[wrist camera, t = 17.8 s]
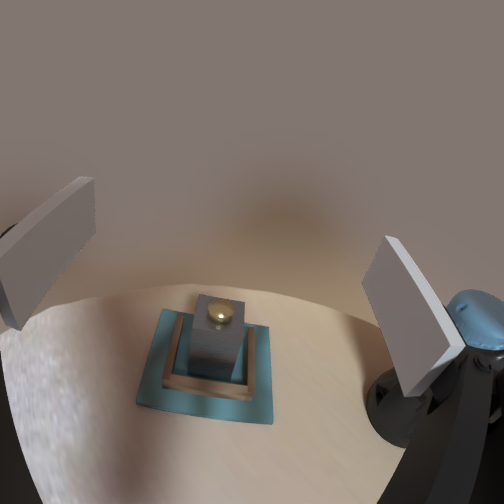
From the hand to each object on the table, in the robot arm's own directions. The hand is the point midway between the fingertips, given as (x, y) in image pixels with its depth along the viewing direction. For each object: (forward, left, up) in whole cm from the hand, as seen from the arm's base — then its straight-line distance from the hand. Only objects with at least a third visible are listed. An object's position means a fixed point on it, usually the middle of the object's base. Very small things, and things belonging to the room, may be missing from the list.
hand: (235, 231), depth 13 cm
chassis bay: (-9, -13, -31) cm, 34 cm away
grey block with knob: (-9, -13, -30) cm, 34 cm away
